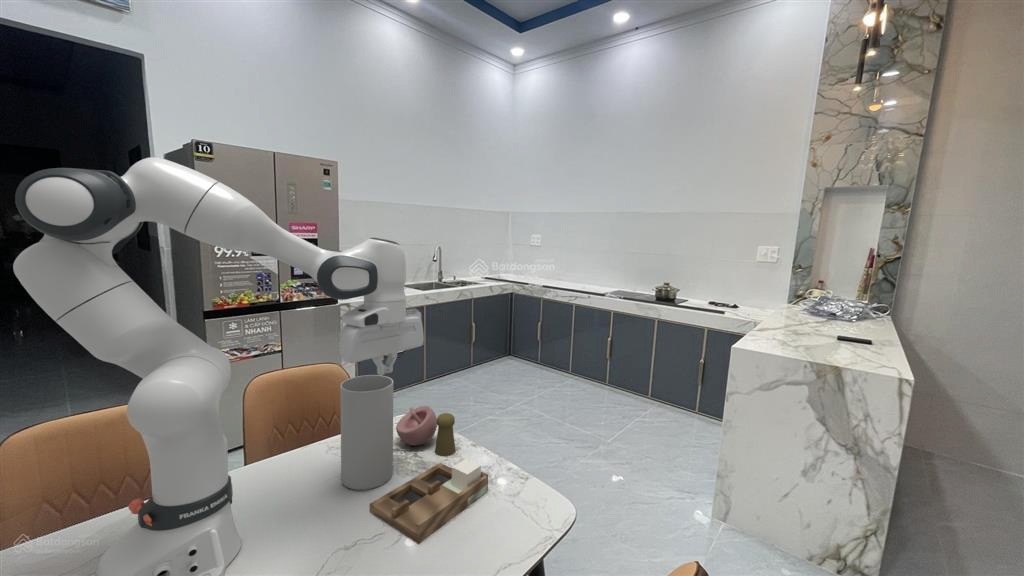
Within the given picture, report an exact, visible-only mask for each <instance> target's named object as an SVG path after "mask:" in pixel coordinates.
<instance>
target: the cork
mask: <svg viewBox="0 0 1024 576" xmlns="http://www.w3.org/2000/svg"><path fill="white" fill-rule="evenodd" d="M436 418H437V427H438V428H437V434H436V440H435V447H434V453H435V454H436V456H439V457H449V456H452V455H454V454H455V453H456V443H455V434H454V425H455V423H456V421H455V420H456V419H455V416H454V415H453V414H451V413H450V412H449V413H448V412H445V413H440V414H439V415H438V416H436Z"/></svg>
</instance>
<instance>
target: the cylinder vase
mask: <svg viewBox="0 0 1024 576" xmlns="http://www.w3.org/2000/svg"><path fill="white" fill-rule="evenodd" d="M339 389H340V392H339V393H340V463H341V464H340V477H341V478H340V480H341V483H342V485H344V486H345V487H346V488H348V489H351V490H355V491H367V490H373V489H376V488H378V487H380V486H382V485H384V484H386V483H387V482H389V480H390V479H391V477H392V475H393V473H394V380H393V379H392V378H391V377H389V376H385V375H379V374H367V375H359V376H353V377H351V378H348V379H345V380H344V381H342V382H341V383H340V387H339Z"/></svg>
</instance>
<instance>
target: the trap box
mask: <svg viewBox="0 0 1024 576" xmlns="http://www.w3.org/2000/svg"><path fill="white" fill-rule="evenodd" d="M488 488H489V474H488V473H486V472H484V471H481V478H480V479H478V480H477V481H476V482H474V483H473V484H471V485H470V486H468V487H467V488H466V489H464V490H461V489H459V488H458V487H456V486H454V485H452V467H451V466H448V465H446V464H444V463H441V462H439V463H437V464H435V465H434V466H432V467H430V468H429V469H427V470H425V471H424V472H422V473H420V474H418V475H417V476H415V477H413V478H411V479H410V480H408V481H406V482H404V483H403V484H401V485H399V486H397V487H396V488H395V489H392V490H390V491H389V492H387V493H385V494H384V495H382V496H380V497H378V498H377V499H375V500H373V501H371V502H370V503H369V513H371V514H372V515H373V516H375V517H376V518H379V520H381V521H383V522H384V523H385V524H387V525H389V526H390V527H392V528H393V529H395V530H397V531H398V532H399V533H400V534H403V535H404V536H406V537H407V538H409V539H410V540H412V541H413V542H415V543H416V544H417V545H419V544H421V543H422V542H423V541H425V540H426V539H427V538H429V537H430V536H431V535H432V534H434V533H435V532H436V531H437V530H439V529H440V528H442V527H443V526H444V525H445V524H447V523H448V522H450V521H451V520H452V519H454V518H455V517H457V515H459V514H460V513H461V512H463V511H465V509H466V508H468V507H469V506H471V505H472V504H473V503H475V502H476V501H478V500H479V499H480V498H481V497H483V496H484V495H485V494H487V492H488Z"/></svg>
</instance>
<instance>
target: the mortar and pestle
mask: <svg viewBox="0 0 1024 576" xmlns="http://www.w3.org/2000/svg"><path fill="white" fill-rule="evenodd" d="M409 410H410V411H409V412H407V413H405V415H403V416H402V417H401V418H400V419H399V421H398V422H397V423H396V427H395V429H396V433H397V436H398V437H399V438H400V440H401V441H402V442H403V443H405V444H407V445H410V446H422V445H424V444H426V443H427V442H429V441H430V440H431V438H433V436H434V435H435V433H436V430H437V429H438V428H437V427H438V425H437V416H436V413H435V411H434V410H433V409H432V408H431V407H430V406H428V405H423V406H419V407H416V408H414V407H410V408H409Z"/></svg>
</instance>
